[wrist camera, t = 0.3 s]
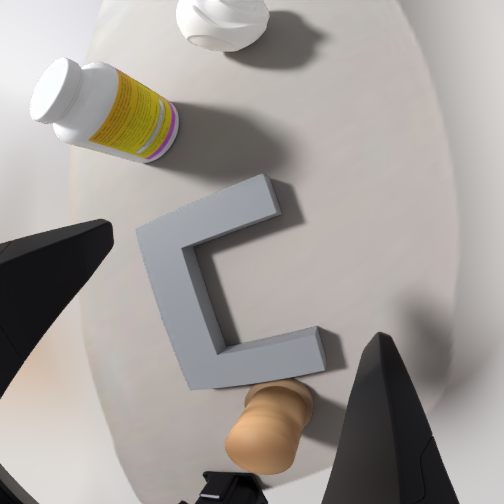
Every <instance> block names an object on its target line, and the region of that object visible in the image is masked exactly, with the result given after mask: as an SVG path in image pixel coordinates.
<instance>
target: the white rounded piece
mask: <svg viewBox="0 0 504 504" xmlns="http://www.w3.org/2000/svg"><path fill="white" fill-rule="evenodd" d="M269 16H270V15H269V11H268V8H267V6H266V5H265V3H264V1H263V0H180V1H179V3H178V6H177V12H176V17H177V23H178V26H179V28H180V30H181V32H182V33H183V35H184V36H185V38H186V39H187V40H188V41H189V42H190V43H192V44H194V45H196V46H199V47H202V48H205V49H208V50H212V51H226V52H232V51H238V50H240V49H242V48H245V47H246V46H248V45H250V44H251V43H253V42H254V41H256V40H257V39H258V38H259V37H260V36H261V35H262V34H263V33H264V31H265V30H266V29H267V22H268V20H269Z"/></svg>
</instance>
